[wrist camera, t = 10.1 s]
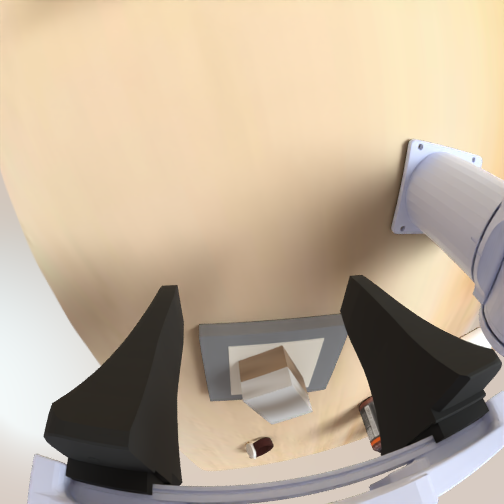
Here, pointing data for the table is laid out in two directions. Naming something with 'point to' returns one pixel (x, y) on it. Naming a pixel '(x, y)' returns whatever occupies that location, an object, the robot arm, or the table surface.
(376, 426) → the supplement bottle
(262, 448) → the watch
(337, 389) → the table surface
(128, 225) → the table surface
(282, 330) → the stand
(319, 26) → the table surface
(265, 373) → the block
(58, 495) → the robot arm
